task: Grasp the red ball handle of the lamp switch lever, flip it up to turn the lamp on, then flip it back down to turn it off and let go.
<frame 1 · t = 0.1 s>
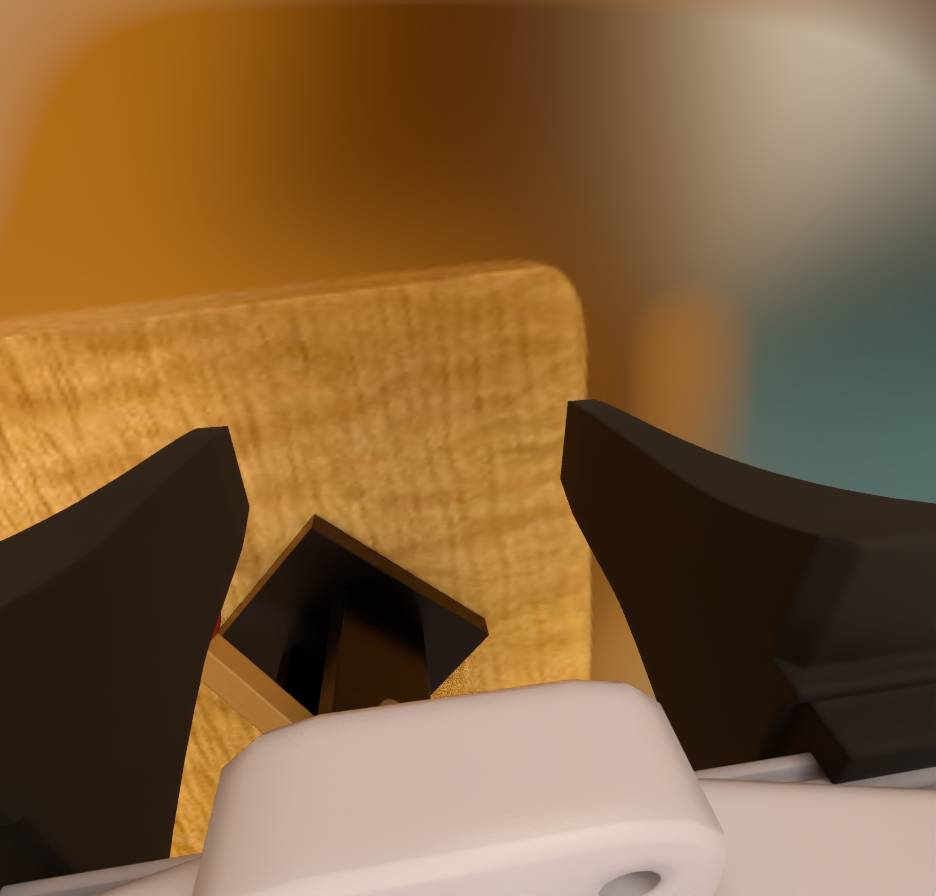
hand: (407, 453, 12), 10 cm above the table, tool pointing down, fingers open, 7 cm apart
switch lever: (255, 695, 19), point 6 cm above the table, hinge at -20.0°
switch bracket: (353, 627, 26), on the table
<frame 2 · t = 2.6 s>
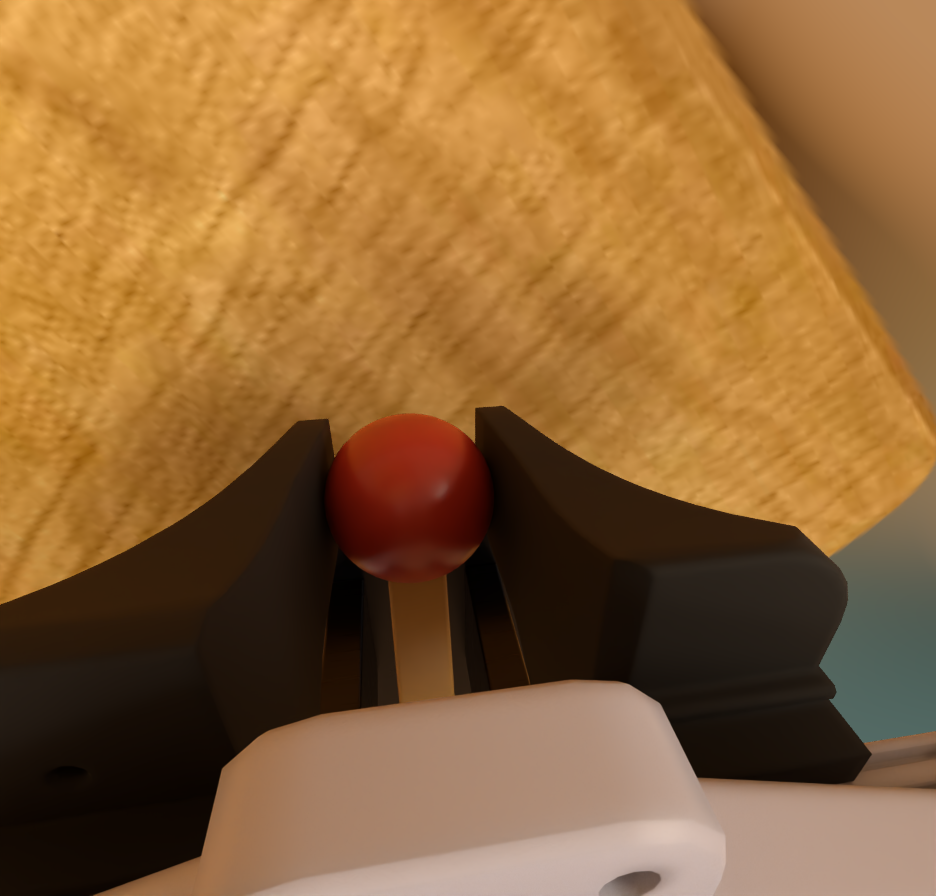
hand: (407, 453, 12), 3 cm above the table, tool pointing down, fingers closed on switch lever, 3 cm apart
switch lever: (425, 679, 11), point 6 cm above the table, hinge at -20.0°, touching gripper
switch bracket: (416, 594, 18), on the table
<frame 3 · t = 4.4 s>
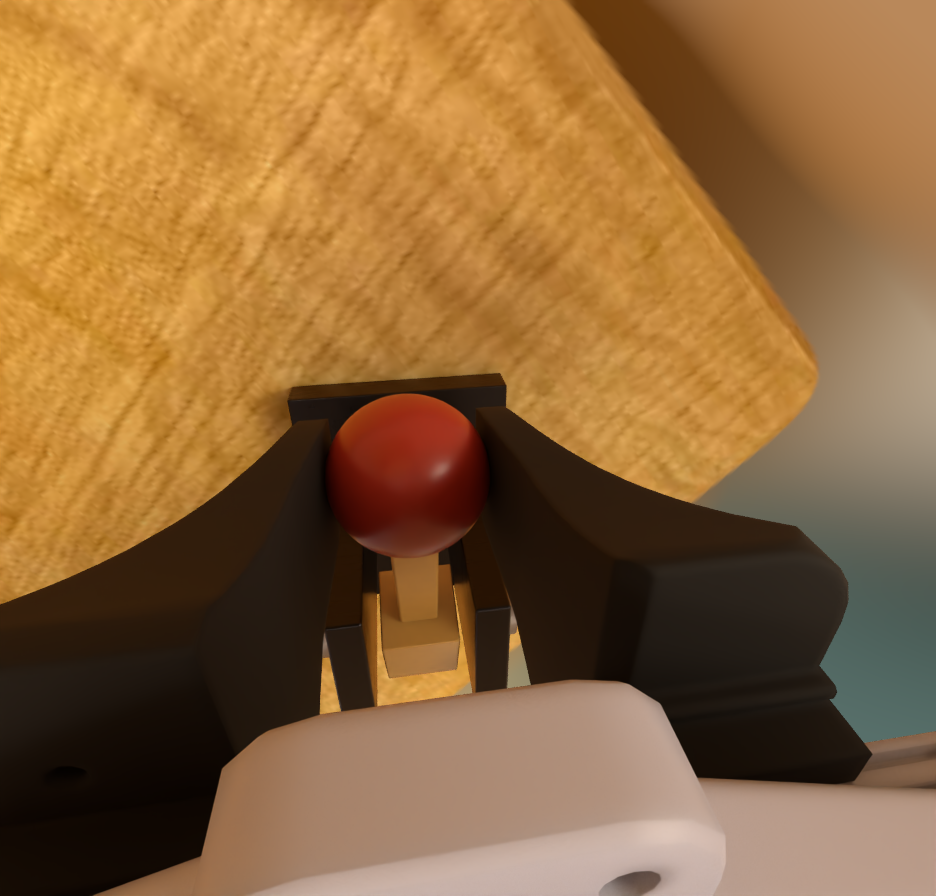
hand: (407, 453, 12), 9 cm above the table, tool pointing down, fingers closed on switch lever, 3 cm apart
switch lever: (415, 563, 14), point 9 cm above the table, hinge at 21.2°, touching gripper
switch bracket: (407, 486, 23), on the table
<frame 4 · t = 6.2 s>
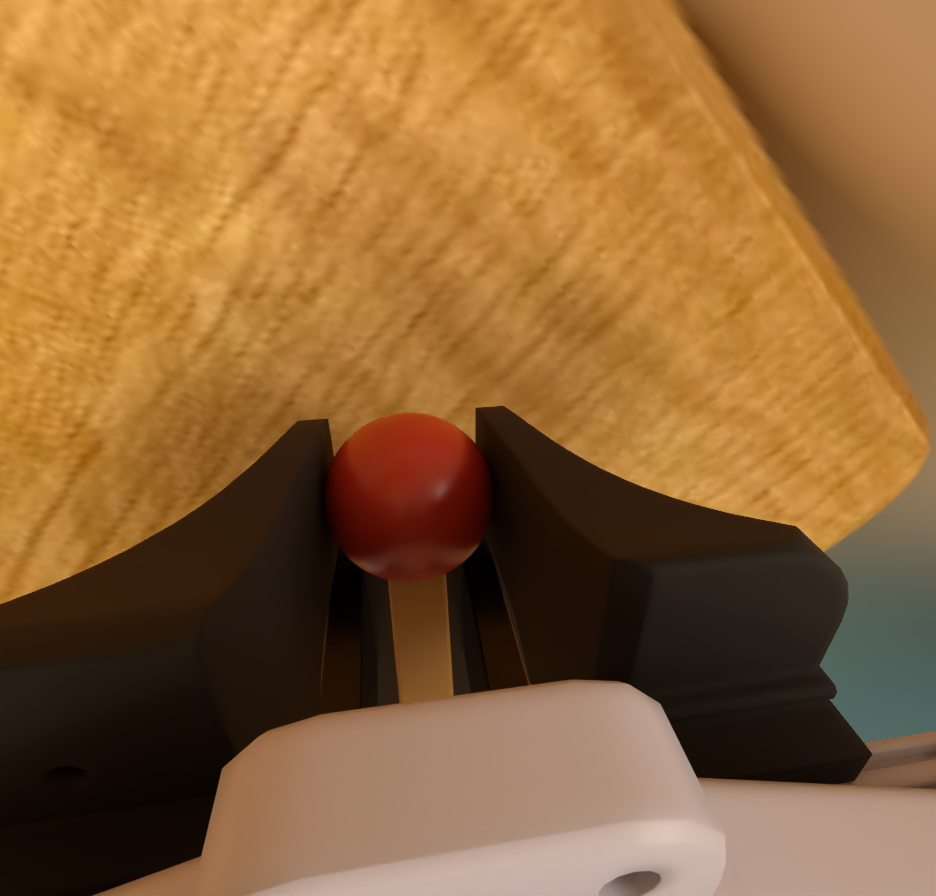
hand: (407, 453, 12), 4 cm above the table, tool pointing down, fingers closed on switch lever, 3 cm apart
switch lever: (424, 674, 11), point 6 cm above the table, hinge at -17.5°, touching gripper
switch bracket: (415, 590, 18), on the table
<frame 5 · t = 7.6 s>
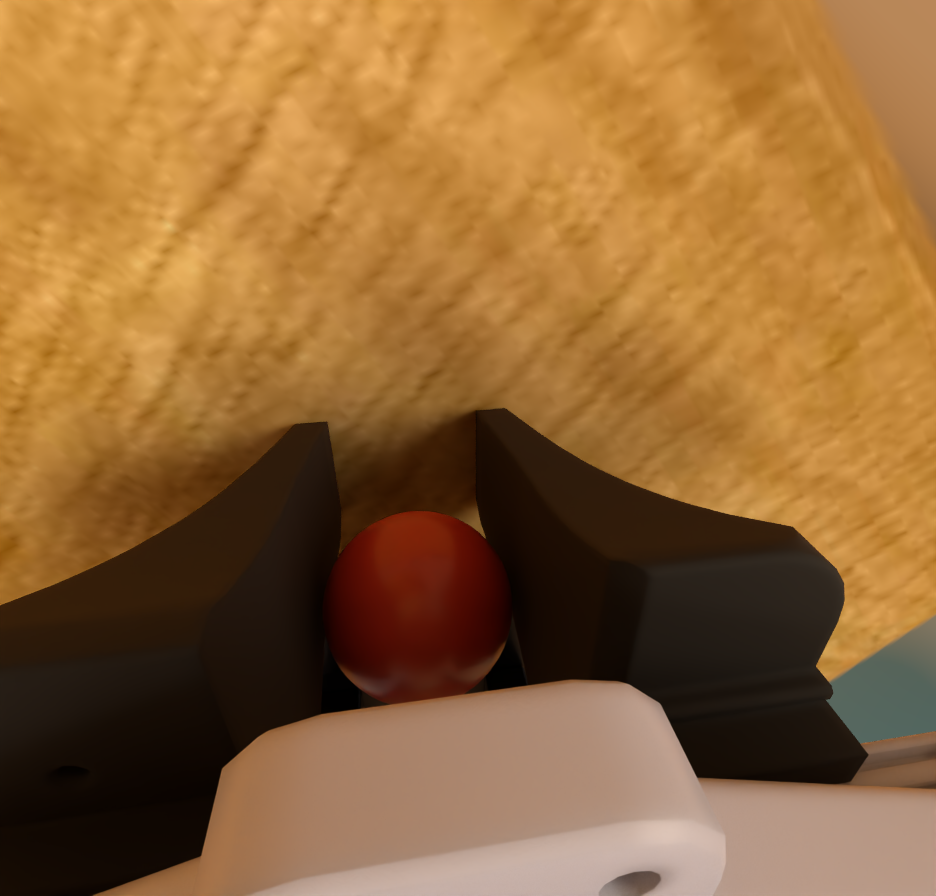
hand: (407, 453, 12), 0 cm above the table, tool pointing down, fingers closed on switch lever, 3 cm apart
switch lever: (438, 839, 9), point 5 cm above the table, hinge at -34.0°, touching gripper
switch bracket: (423, 691, 15), on the table
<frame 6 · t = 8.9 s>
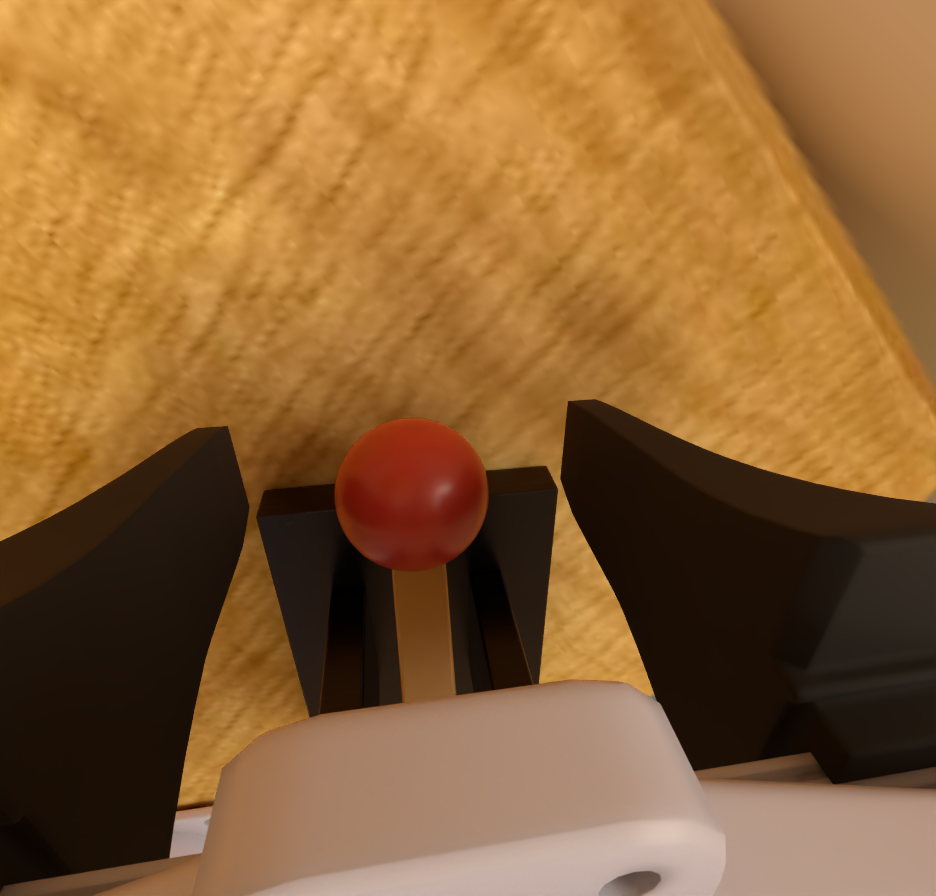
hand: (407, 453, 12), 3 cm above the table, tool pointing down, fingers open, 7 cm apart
switch lever: (427, 677, 11), point 5 cm above the table, hinge at -30.3°
switch bracket: (419, 601, 18), on the table
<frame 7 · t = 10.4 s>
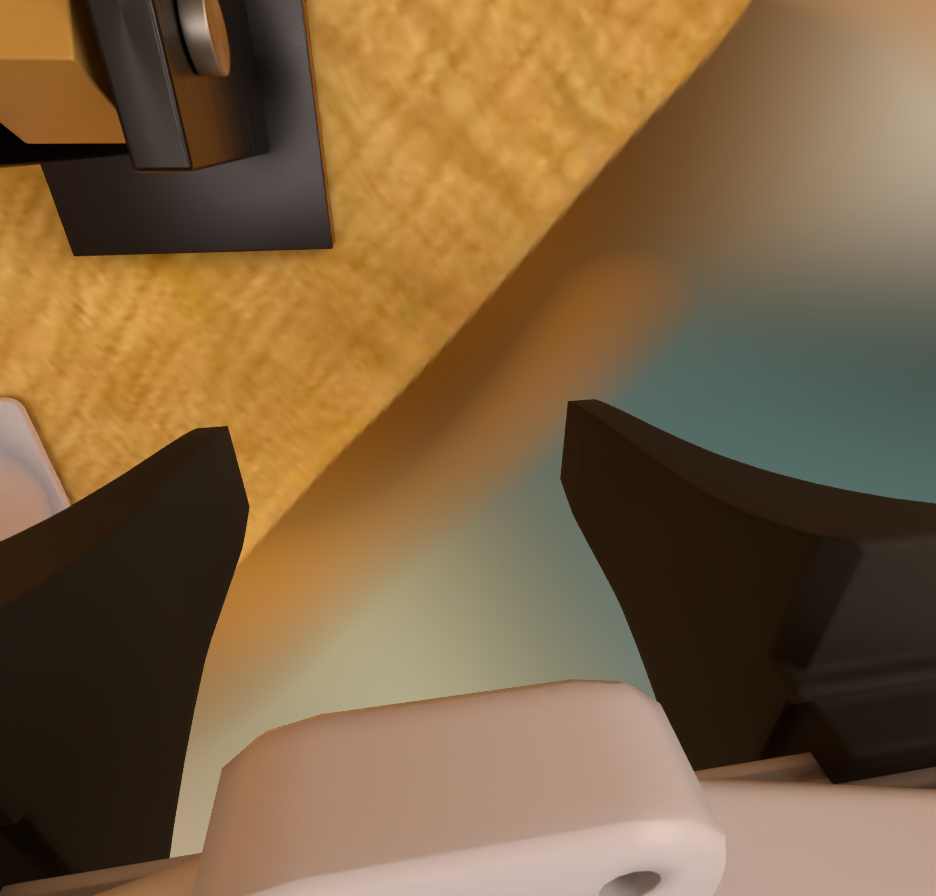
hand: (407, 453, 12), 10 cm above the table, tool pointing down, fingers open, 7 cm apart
switch bracket: (175, 67, 16), on the table
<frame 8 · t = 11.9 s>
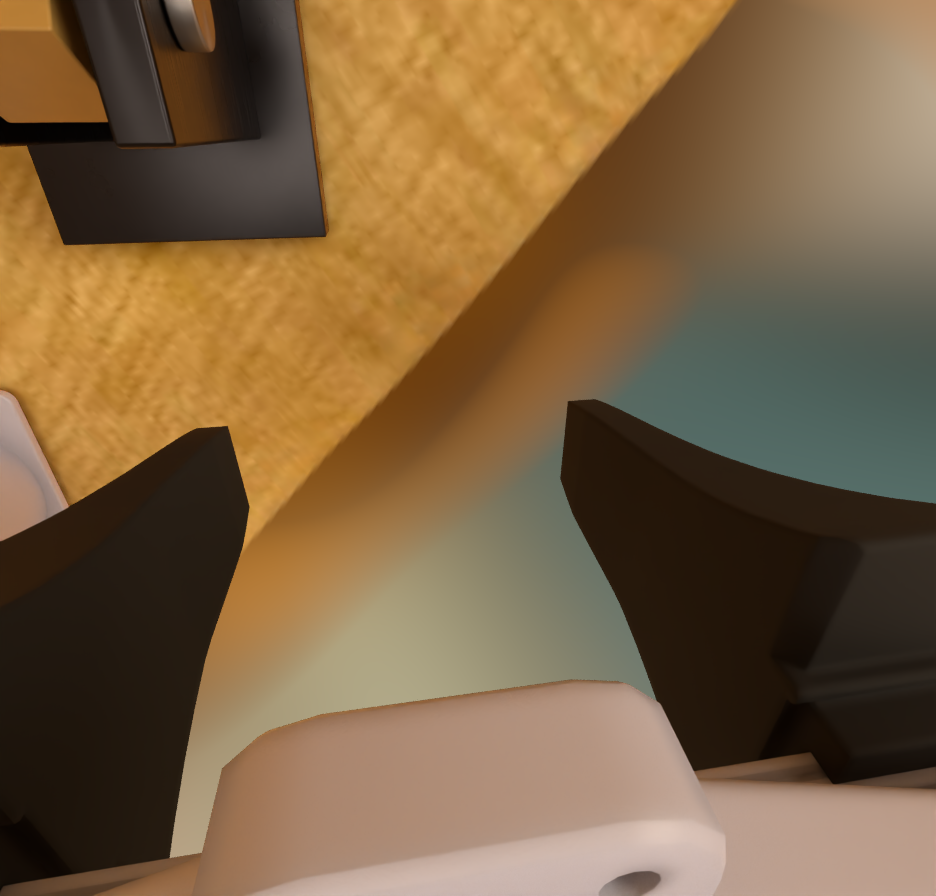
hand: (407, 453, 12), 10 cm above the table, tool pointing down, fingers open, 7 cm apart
switch bracket: (164, 52, 16), on the table
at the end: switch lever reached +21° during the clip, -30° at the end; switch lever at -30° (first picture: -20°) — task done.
